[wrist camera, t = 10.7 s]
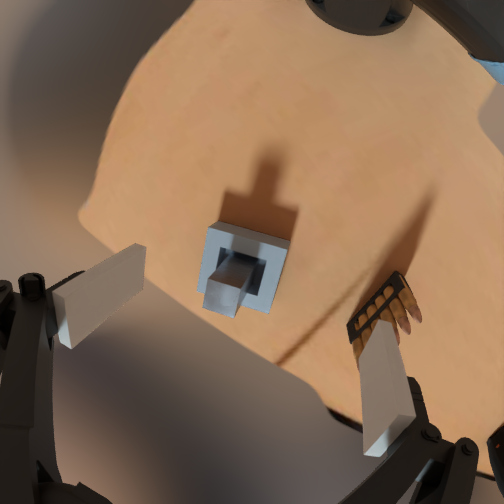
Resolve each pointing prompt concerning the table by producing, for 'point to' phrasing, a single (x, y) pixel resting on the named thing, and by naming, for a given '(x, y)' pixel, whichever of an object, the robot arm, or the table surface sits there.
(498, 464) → the portable speaker
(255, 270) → the steel pin
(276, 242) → the slot block
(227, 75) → the table surface
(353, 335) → the ammunition clip
